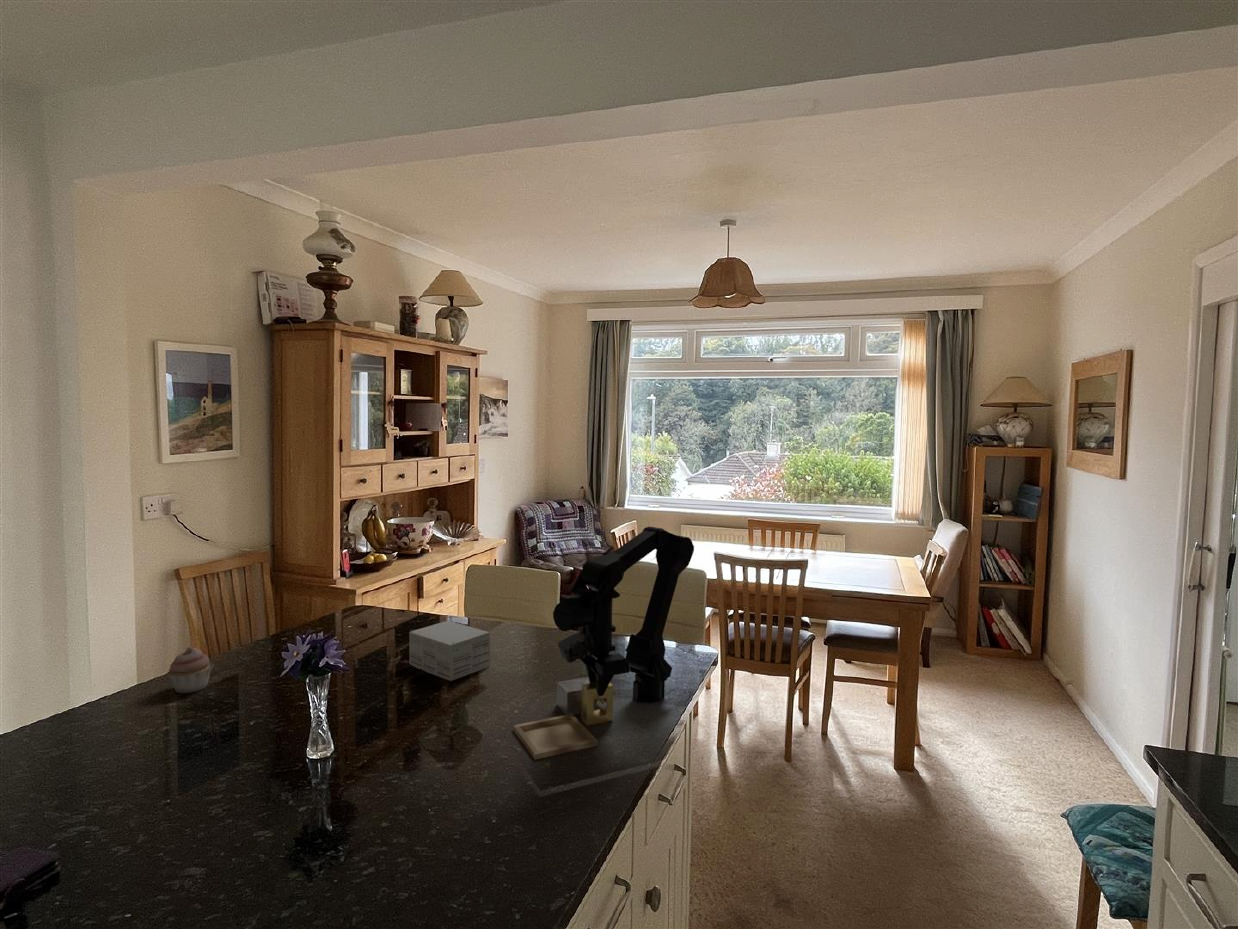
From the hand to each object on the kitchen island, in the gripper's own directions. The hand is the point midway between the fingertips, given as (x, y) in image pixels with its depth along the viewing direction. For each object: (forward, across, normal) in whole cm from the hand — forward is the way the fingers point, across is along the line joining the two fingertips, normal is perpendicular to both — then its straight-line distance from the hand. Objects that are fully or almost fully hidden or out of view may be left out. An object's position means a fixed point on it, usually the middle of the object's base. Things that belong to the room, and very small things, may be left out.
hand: (597, 692), depth 141 cm
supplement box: (+7, -46, -21) cm, 51 cm away
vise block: (+7, -4, 0) cm, 8 cm away
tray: (+7, +4, -11) cm, 13 cm away
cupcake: (+7, -56, -79) cm, 97 cm away
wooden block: (+6, 0, 0) cm, 6 cm away
